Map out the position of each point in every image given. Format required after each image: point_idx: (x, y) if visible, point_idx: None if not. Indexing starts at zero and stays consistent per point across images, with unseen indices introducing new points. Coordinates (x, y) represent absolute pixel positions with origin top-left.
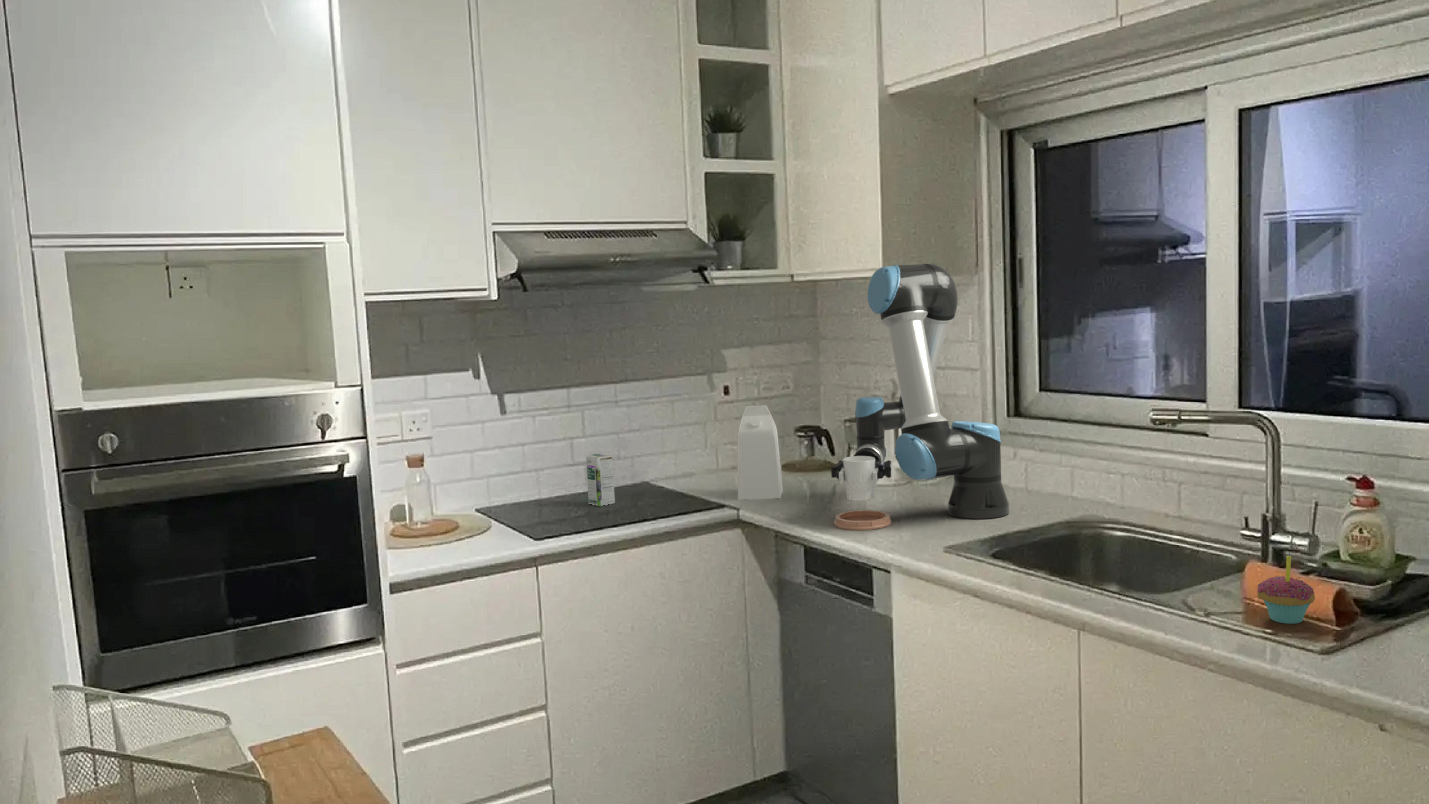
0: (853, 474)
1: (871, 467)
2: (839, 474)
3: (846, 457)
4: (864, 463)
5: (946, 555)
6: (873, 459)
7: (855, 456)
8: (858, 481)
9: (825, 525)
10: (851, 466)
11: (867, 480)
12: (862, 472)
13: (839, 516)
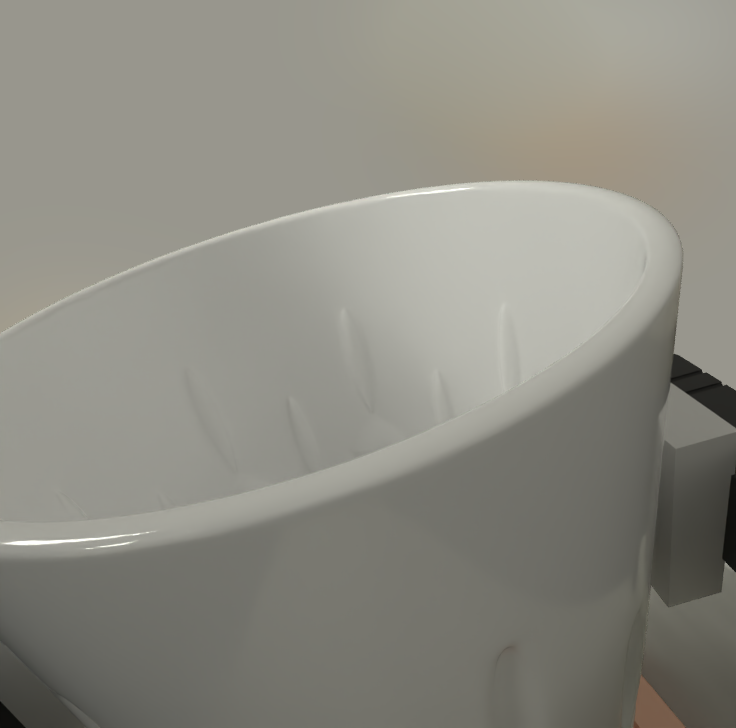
0: (380, 359)
1: (127, 394)
2: None
3: (663, 232)
4: (200, 272)
5: None
6: (15, 324)
7: (503, 401)
8: (346, 440)
9: (729, 695)
10: (381, 265)
11: (251, 489)
12: (269, 367)
13: (639, 723)
